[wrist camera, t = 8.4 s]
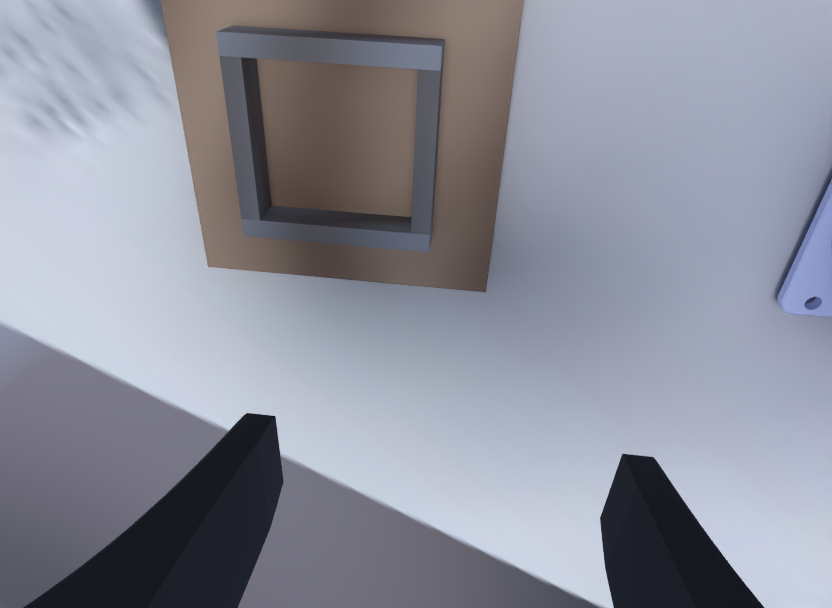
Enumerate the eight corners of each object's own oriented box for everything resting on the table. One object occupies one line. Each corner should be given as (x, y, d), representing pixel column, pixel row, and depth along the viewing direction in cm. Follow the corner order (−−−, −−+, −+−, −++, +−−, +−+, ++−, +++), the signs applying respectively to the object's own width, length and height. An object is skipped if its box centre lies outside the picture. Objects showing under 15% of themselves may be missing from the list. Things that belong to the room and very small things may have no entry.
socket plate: (526, -44, 15) (531, -41, 14) (485, 277, 21) (485, 310, 19) (167, -63, 16) (125, -62, 14) (218, 253, 21) (193, 283, 20)
